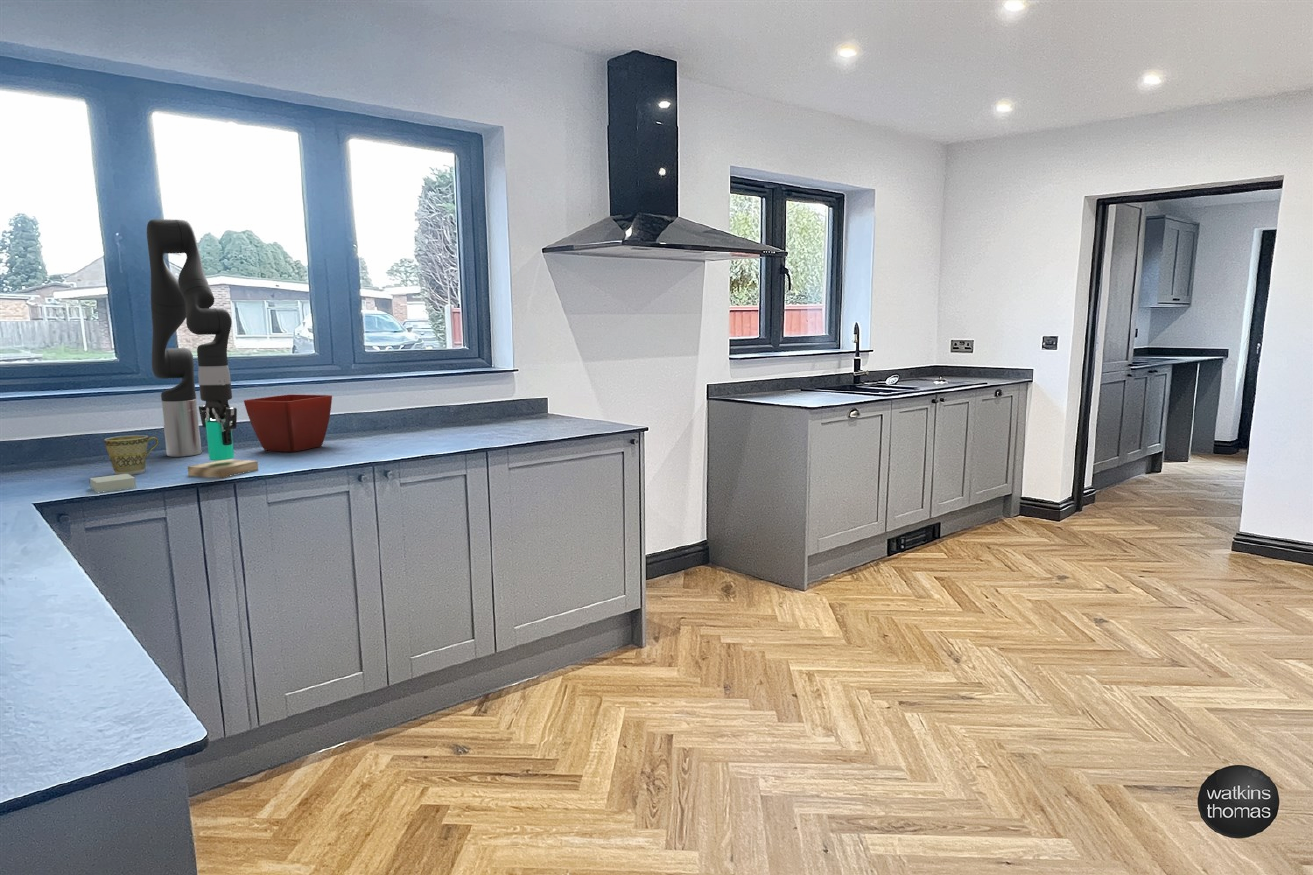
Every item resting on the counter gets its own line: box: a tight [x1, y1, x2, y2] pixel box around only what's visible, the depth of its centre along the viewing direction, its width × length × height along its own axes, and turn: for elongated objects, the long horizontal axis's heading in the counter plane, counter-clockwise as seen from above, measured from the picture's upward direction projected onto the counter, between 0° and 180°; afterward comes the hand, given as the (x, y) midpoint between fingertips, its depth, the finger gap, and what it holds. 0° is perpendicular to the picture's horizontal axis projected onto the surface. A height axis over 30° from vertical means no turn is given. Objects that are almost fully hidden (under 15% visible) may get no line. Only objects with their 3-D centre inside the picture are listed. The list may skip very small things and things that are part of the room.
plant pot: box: [243, 393, 333, 453], centre depth 253 cm, size 19×19×17 cm
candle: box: [205, 421, 235, 461], centre depth 214 cm, size 6×6×12 cm
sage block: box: [89, 474, 137, 493], centre depth 197 cm, size 8×8×3 cm
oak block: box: [187, 458, 259, 479], centre depth 215 cm, size 12×12×3 cm
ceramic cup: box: [103, 434, 159, 476], centre depth 216 cm, size 13×10×10 cm
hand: (220, 443), depth 214 cm, fingers closed on candle, 5 cm apart
